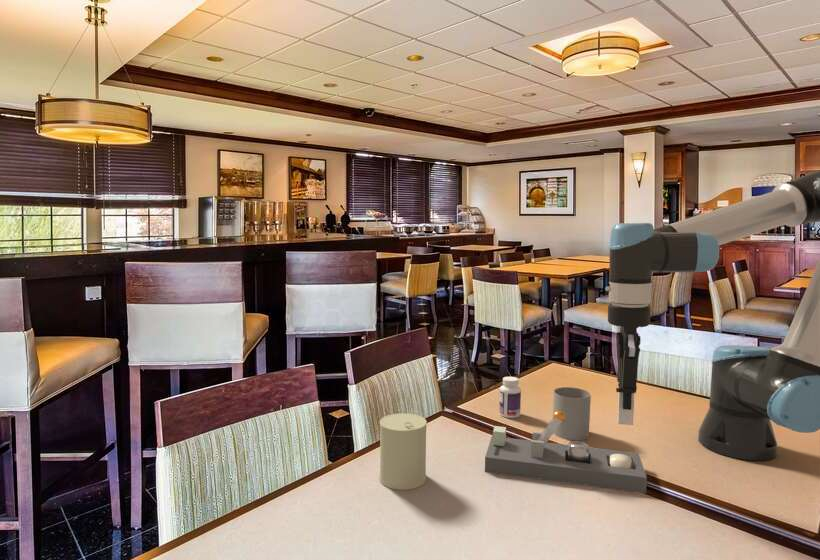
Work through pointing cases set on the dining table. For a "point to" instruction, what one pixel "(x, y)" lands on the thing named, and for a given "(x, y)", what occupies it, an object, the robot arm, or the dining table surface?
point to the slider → (499, 436)
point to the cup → (572, 412)
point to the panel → (564, 464)
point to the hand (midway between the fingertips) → (625, 423)
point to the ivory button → (620, 461)
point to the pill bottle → (510, 398)
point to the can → (402, 451)
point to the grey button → (578, 452)
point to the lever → (552, 426)
